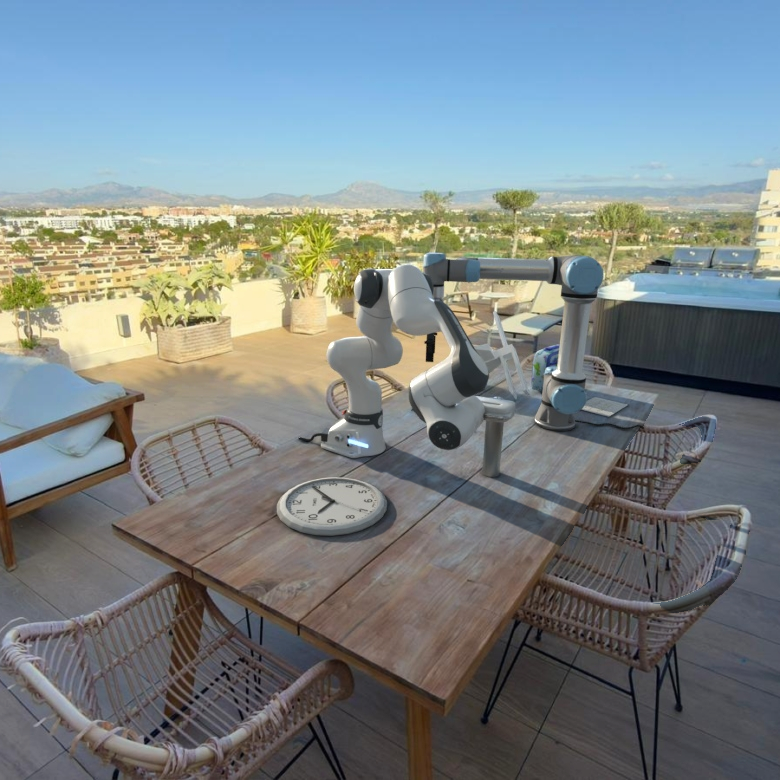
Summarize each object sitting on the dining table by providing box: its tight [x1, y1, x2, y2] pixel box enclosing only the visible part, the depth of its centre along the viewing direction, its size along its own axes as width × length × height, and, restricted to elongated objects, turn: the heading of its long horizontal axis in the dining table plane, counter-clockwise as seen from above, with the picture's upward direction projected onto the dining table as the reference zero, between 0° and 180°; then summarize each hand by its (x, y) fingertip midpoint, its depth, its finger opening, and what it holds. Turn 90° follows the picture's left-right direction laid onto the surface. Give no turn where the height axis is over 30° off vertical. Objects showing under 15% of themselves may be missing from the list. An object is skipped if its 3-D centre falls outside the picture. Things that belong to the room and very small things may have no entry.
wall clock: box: [276, 476, 388, 537], centre depth 142 cm, size 30×2×30 cm
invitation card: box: [580, 396, 629, 418], centre depth 226 cm, size 21×1×15 cm
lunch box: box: [530, 344, 560, 393], centre depth 247 cm, size 26×11×21 cm, turn 134°
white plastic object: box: [473, 310, 531, 400], centre depth 245 cm, size 37×45×31 cm
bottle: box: [481, 420, 505, 478], centre depth 160 cm, size 5×5×24 cm
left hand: (480, 397), depth 135 cm, fingers open, 8 cm apart
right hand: (430, 357), depth 190 cm, fingers open, 13 cm apart
